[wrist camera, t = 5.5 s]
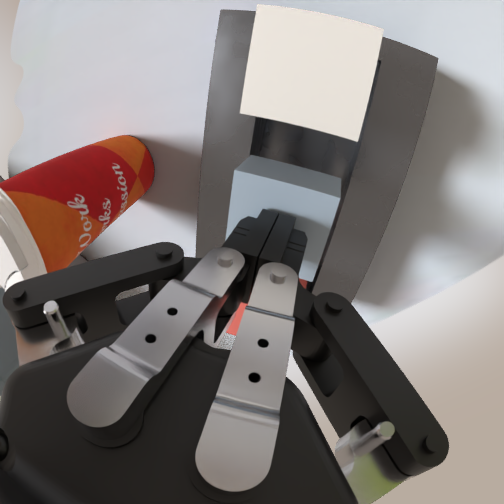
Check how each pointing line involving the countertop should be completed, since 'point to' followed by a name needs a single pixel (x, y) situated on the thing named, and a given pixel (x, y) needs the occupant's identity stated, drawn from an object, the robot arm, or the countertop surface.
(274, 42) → the white key
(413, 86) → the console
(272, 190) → the slate-blue key
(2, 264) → the coffee cup
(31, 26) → the countertop surface
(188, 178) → the countertop surface
